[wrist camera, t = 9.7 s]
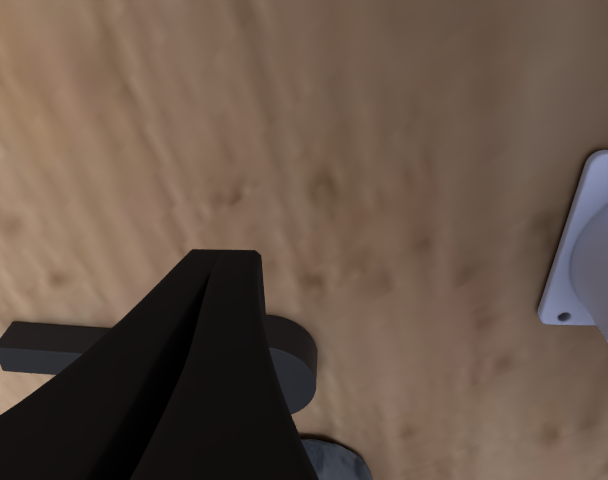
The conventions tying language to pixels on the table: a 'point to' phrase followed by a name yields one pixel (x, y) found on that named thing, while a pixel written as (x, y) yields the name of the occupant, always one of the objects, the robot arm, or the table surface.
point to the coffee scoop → (77, 340)
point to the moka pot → (335, 461)
